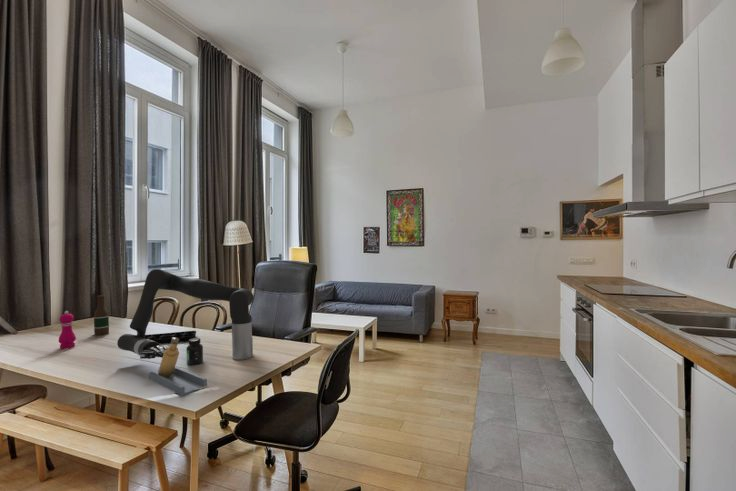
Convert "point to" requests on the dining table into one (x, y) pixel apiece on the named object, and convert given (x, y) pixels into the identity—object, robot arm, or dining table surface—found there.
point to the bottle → (169, 359)
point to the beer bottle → (101, 318)
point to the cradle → (180, 381)
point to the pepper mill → (67, 331)
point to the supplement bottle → (194, 352)
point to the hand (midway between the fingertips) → (165, 355)
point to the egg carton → (167, 337)
